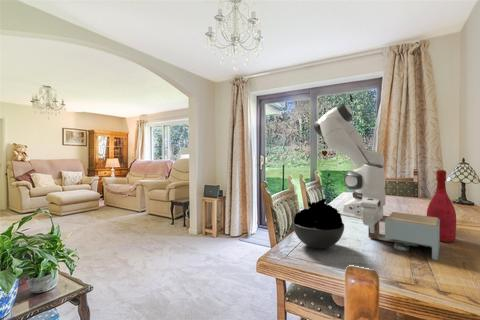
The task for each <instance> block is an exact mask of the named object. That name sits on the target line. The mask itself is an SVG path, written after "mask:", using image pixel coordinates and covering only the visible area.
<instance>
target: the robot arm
mask: <svg viewBox="0 0 480 320" xmlns="http://www.w3.org/2000/svg"><path fill="white" fill-rule="evenodd" d="M352 119H353V110H352V109H351V107H350V106H349V105H347V104H346V103H340V104H337V105H336V106H335V107H333V108H331V109H329V110H328V111H327V112H326V113H324V114H323V115H322V116H320V117H319V118H318V119H316V121H315V122H314V123H313V130H314V132H315V133H316V134H317V135H318V136H320V137H323V140H324V142H325V144H326V145H327V147H328V148H329V149H330V150H331V151H333V152H335V153H340V154H342V155H345V156H347V157H348V158H349V159H350V163H351V164H352V165H353V166H354V167H356V168H355V169H351V170H347V171H346V172H345V174H344V175H343V183H344V185H345V187H346V189H349V190H350V191H351V190H352V191H353V192H352V197H351V198H350V199H348V200H347V201H346V202H344V203H343V206H342V209H340V210H339V211H338V213H340V214H341V216H347V217H351V218H354V219H355V218H357V219H362V224H363V225H364V226H367V227H368V229H369V228H370V233H375V223H377V222H378V221H379V222H380V220H381V219H382V218H384V207H385V206H386V199H387V196H386V193H387V192H386V191H385V188H386V171H385V168H384V164H385V156H384V155H383V154H382V153H381V152H379V151H376V150H368V149H367V148H366V146H365V143H364V138H363V136H362V135H361V134H360V132H359V131H358V130H357V128H356V127H355V126H354V125H353V123H351V120H352Z"/></svg>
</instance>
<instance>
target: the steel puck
mask: <svg viewBox="0 0 480 320" xmlns="http://www.w3.org/2000/svg"><path fill="white" fill-rule="evenodd" d="M393 250H394V251H396V252H399V253H400V252H401V253H409V252H410V245H407V244H404V243H395V242H393Z"/></svg>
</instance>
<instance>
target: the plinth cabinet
mask: <svg viewBox="0 0 480 320" xmlns="http://www.w3.org/2000/svg"><path fill="white" fill-rule="evenodd" d="M439 231H440V219H438V218H437V217H429V216H427V215H420V214H412V213H405V212H398V211H397V212H396V211H395V212H394V211H392V212H391V213H389V215H388V216H387V217H386V218H385V219H384V235H385V237H386V238H391V239H396V240H401V241H406V242H412V243H417V244H419V245H418V246H419V247H420V246H421V247H427V248H431V259H432V260H435V261H438V259H439V255H440V253H439V252H440V241H439Z"/></svg>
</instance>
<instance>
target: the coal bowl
mask: <svg viewBox="0 0 480 320" xmlns="http://www.w3.org/2000/svg"><path fill="white" fill-rule="evenodd" d="M326 201H327V199H326V198H322V199H320V200H318V201H316V202H315V201H312V202H307V206H308V207H309V208H304V209H303V208H302V209H301V210H299V212H296V213H295V214H294V218H293V220H292V228H293V231H294V234H295V235H296V237H297V239H299V241H300V242H302V243H303V244H304V245H305V246H307V247H309V248H312V249H321V250H323V249H328V248H330V247H333V246H334V245H336V244H337V243H338V242H339V241H340V240H341V238H342V236H343V235H344V231H345V224H344V223H343V219H342V215H341V214H340V213H339V211H338V208H335V207H333V206H331V205H330V204H327V203H326Z"/></svg>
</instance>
